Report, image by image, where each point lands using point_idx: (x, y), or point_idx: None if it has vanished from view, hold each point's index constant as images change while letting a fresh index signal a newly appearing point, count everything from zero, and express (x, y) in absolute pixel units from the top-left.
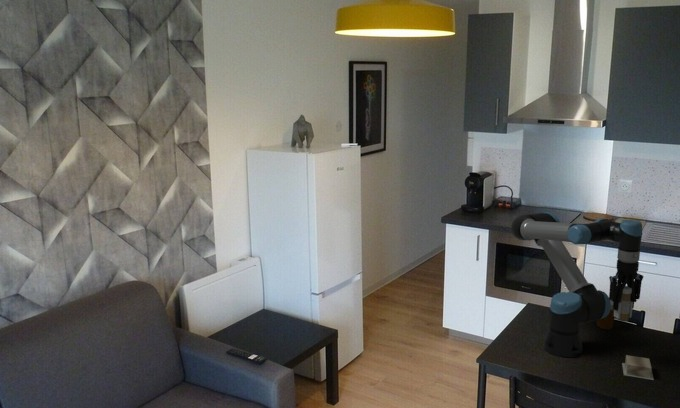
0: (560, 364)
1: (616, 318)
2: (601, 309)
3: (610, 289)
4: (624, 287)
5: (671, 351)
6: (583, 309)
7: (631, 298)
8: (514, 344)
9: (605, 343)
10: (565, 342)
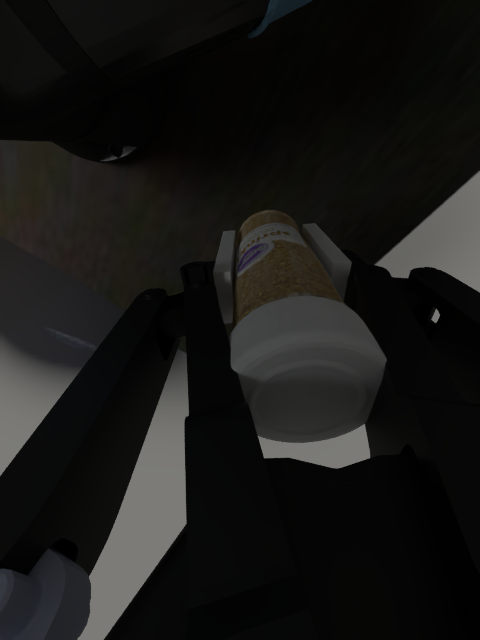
0: (70, 204)
1: (237, 238)
2: (223, 31)
3: (90, 378)
4: (297, 398)
5: (469, 170)
6: (33, 83)
7: (354, 308)
8: None
9: (293, 42)
10: (59, 144)
